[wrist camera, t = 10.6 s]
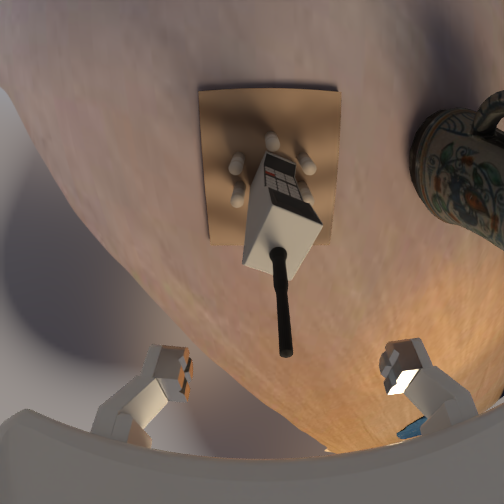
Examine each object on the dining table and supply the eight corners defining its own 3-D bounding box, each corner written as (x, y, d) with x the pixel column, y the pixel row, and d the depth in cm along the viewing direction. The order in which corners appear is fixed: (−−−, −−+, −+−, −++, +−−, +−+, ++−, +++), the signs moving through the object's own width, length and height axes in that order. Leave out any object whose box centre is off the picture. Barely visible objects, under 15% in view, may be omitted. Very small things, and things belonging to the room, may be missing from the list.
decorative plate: (413, 437, 93) (415, 446, 89) (384, 433, 84) (386, 444, 79) (467, 407, 79) (470, 417, 75) (449, 399, 70) (453, 411, 66)
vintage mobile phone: (295, 162, 32) (361, 320, 11) (278, 198, 34) (302, 384, 13) (265, 149, 31) (278, 295, 10) (249, 187, 34) (231, 369, 12)
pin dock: (200, 91, 29) (187, 91, 23) (338, 92, 28) (354, 92, 23) (211, 240, 39) (204, 266, 34) (327, 240, 39) (337, 266, 33)
